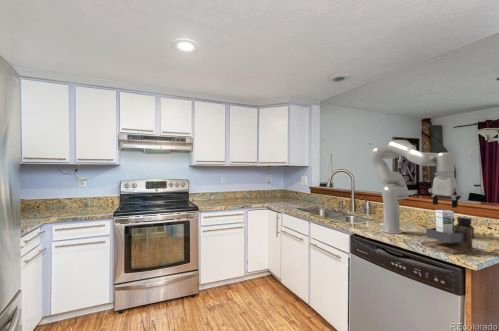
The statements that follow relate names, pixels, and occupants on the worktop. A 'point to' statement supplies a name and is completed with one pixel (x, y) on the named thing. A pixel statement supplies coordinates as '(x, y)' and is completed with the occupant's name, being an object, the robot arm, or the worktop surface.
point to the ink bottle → (465, 223)
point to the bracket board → (453, 247)
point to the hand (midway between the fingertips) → (444, 205)
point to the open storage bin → (446, 235)
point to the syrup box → (445, 221)
